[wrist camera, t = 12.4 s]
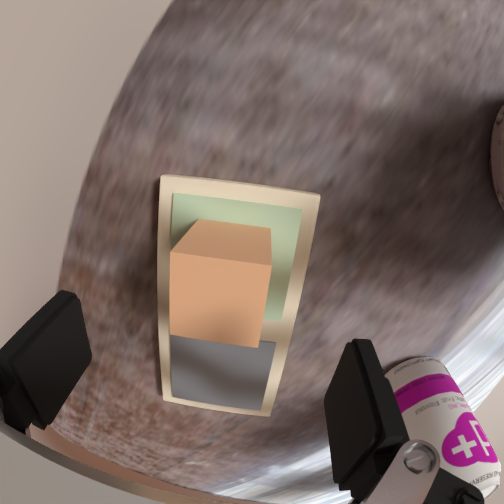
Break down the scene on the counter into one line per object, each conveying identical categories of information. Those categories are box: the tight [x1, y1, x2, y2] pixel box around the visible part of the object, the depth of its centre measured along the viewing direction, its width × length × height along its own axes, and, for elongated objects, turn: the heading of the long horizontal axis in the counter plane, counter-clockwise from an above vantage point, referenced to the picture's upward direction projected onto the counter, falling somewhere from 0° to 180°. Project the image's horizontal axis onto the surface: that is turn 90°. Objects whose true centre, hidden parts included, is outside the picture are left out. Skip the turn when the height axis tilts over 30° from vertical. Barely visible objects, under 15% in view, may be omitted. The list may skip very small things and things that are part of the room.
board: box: [157, 174, 321, 417], centre depth 22 cm, size 20×10×1 cm, turn 173°
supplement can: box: [385, 357, 501, 501], centre depth 17 cm, size 8×8×15 cm
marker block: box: [169, 219, 272, 348], centre depth 17 cm, size 4×4×6 cm
